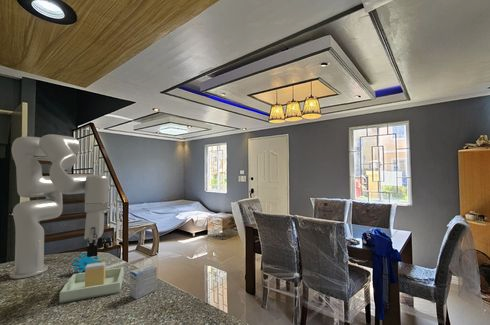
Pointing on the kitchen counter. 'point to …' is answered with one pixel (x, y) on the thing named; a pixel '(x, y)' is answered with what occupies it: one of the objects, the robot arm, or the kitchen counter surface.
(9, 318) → the kitchen counter surface
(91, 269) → the tan and white block
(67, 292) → the parts tray
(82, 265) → the gear
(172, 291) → the kitchen counter surface
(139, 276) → the medicine box
